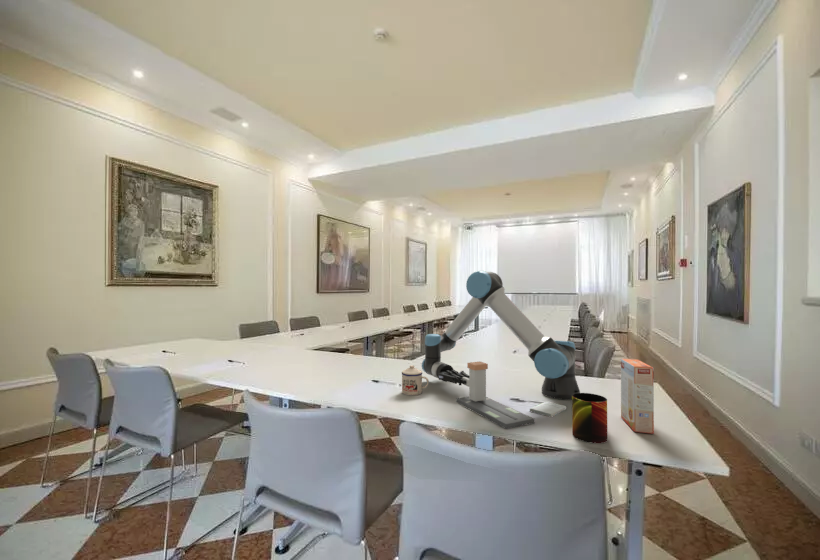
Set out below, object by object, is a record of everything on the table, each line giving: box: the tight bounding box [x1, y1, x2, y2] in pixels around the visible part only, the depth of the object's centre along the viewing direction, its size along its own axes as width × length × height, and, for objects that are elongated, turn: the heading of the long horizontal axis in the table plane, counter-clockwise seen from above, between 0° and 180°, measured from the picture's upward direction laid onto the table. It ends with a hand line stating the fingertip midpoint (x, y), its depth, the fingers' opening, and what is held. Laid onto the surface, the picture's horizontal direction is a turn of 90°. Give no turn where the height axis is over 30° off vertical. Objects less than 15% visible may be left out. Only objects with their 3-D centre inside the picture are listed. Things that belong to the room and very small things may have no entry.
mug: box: [571, 392, 608, 445], centre depth 112 cm, size 10×14×12 cm
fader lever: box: [467, 361, 489, 402], centre depth 140 cm, size 5×6×14 cm
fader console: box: [455, 395, 535, 430], centre depth 132 cm, size 30×12×2 cm, turn 25°
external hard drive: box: [529, 401, 567, 418], centre depth 134 cm, size 2×8×12 cm
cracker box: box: [620, 358, 655, 435], centre depth 119 cm, size 14×6×21 cm, turn 164°
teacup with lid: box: [401, 364, 430, 396], centre depth 156 cm, size 12×9×12 cm
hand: (472, 384), depth 142 cm, fingers closed
